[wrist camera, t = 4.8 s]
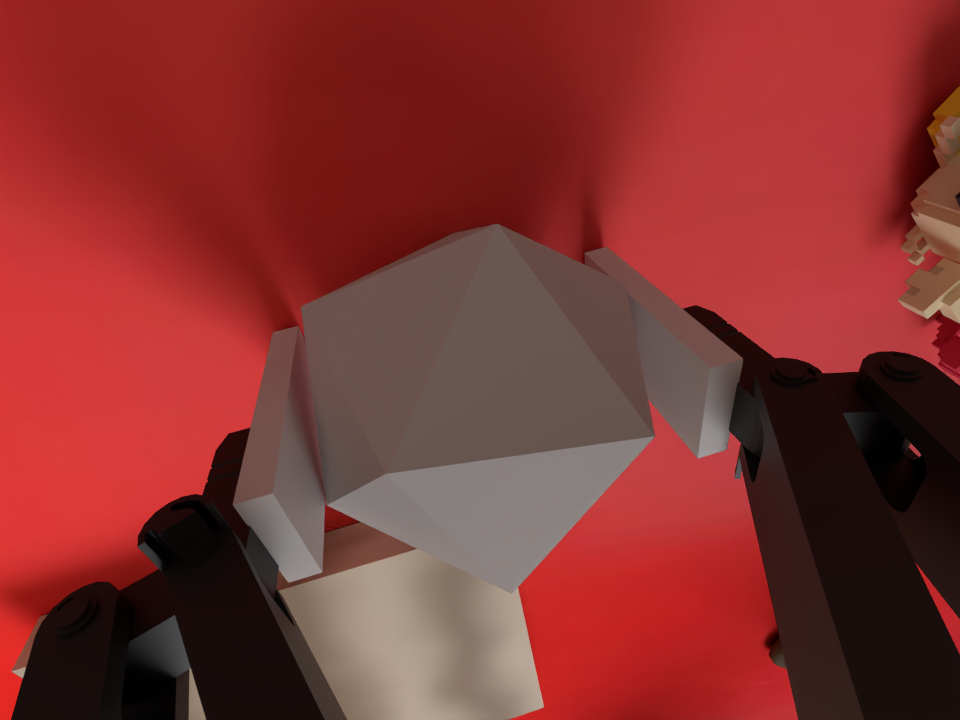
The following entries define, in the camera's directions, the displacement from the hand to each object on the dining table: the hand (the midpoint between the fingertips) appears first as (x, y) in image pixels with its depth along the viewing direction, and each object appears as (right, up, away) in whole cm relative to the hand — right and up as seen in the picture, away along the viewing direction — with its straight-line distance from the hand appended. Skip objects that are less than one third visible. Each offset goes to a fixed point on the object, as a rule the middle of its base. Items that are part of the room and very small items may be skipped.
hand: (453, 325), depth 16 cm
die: (0, 0, 0) cm, 0 cm away
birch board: (-6, -16, +9) cm, 19 cm away
